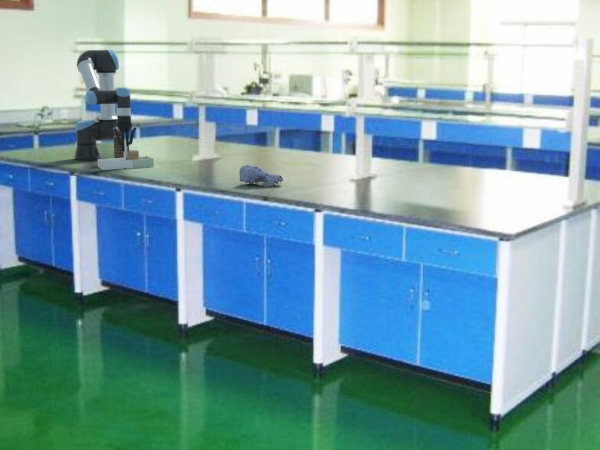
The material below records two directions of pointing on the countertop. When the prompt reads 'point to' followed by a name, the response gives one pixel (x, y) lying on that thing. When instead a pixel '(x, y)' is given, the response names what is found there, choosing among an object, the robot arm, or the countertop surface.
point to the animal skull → (258, 176)
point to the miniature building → (118, 147)
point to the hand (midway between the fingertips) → (125, 157)
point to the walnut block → (132, 155)
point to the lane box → (125, 163)
